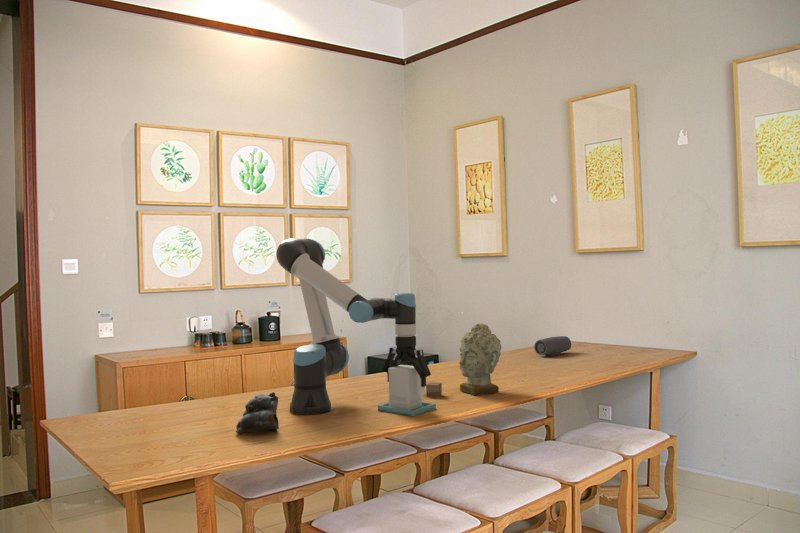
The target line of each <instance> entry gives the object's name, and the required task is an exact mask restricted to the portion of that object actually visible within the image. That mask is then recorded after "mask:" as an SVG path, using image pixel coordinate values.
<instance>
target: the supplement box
mask: <svg viewBox="0 0 800 533" xmlns="http://www.w3.org/2000/svg"><path fill="white" fill-rule="evenodd" d="M388 372H389V382H388V402H389V407H395V408H401V409H407V410H413V409H416V408H419V407H422V402H423V401H422V400H423V399H422V397H423V396H419V386H418V378H419V377H420V376H419V374H418V373H417V371H416V370H415V368H414V366H413V365H408V364H398V366H395V367H391V368H388Z"/></svg>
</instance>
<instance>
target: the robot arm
mask: <svg viewBox="0 0 800 533" xmlns="http://www.w3.org/2000/svg"><path fill="white" fill-rule="evenodd" d="M275 256H276V260H277V263H278V264H279V265H280V266H281V267H282V269H284V270H285V271H286V272H287V273H289V274H291V276H294V277H295V278H297V279H298V280H299V283H300V284H299V285H300V289H301V293H302V297H303V302H304V306H305V310H306V315H307V319H308V322H309V323H308V324H309V328H310V332H311V337H312V340H311V342H310V343H309V344H307V345H301V346H299V347H297V348H295V350H294V352H293V358H292V362H293V388H294V389H293V393H292V397H291V402H290V403H289V412H290V413H292V414H296V415H317V414H324V413H327V412H330V411H331V410H332V402H331V400H330V397H329V394H328V391H327V377H330V376H334V375H337V374H339V373H340V372H343V371H344V370H345V368H347V366H348V363H349V360H350V355H349V354H350V353H349V350H348V348H347V347H346V346H345V345H344V344H343V343H341V338H340V336H339V335H337V334H336V332H335V331H334V330H335V329H334V327H333V326H334V325H333V321H332V319H331V314H330V313H331V312H330V309H329V304H328V301H327V298H328V299H329V300H331V301H332V302H334V303H335V304H336V305H337V306H339V307H340V308H342V309H344V310H345V311H346V312H348V315H349V317H350V319H351V321H353V322H354V323H357V324H358V323H360V324H361V323H367V322H370V321H377V320H382V319H387V320H388V319H389V320H392V319H393V320H394V321H395V322H394V324H395V328H394V330H395V332H394V334H395V335H396V336H395V346H393V347H392V346H391V347H389V349H388V355H387V357H386V361H385V363H384V365H383V368H382V372H385V373H386V374H387V375H386V376H387V383H389V372H388V368H391V367H395V366H398V365H400V363H401V362H404V361H405V362H409V363H410V364H411V366H414V368H415V370H416V371H417V373H418V374H419V376H420V377H419V378H418V386H419V396H422V397H423V396H426V384H427V377H430V376H431V375H432V374H431V370H430V368H429V366H428V363H427V361H426V358H425V356H424V355H425V354H424V350H423V348H422V349H416V346H417V336H416V334H417V324H416V321H417V320H416V311H417V310H416V308H417V304H416V295H415V293H413V292H412V293H411V292H397V293H395V294H394V297H393V298H388V297H387V298H385V297H372V298H371V297H370V298H365V297H364V296H362V295H361V294H360V293H359V292H357V291H355V289H353V288H351V287H350V286H348V285H347V284H346V283H344V282H343V281H342V280H340V279H338V278H337V277H336V276H335V275H333V274H332V273H331V272H329V271H327V270H326V269H325V268H324V266H323V264H324V261H325V260H326V251H325V249H324V247H323V245H322V244H321V243H320V242H318V240H314V239H311V238H287V239H285V240H282V242H280V244H278V246H277V249H276V252H275Z"/></svg>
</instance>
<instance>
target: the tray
mask: <svg viewBox="0 0 800 533" xmlns="http://www.w3.org/2000/svg"><path fill="white" fill-rule="evenodd" d="M436 407H437V404H436V403H432V402H427V401H426V402H425V401H422V407H419V408H416V409H413V410H407V409H401V408H395V407H389V401H388V402H385V403H381V404H378V405H377V411H380V412H384V411H385V412H386V413H390V414H391V413H392V414H396V415H402V416H407V417H408V416H409V417H415V416H418V415H421V414H424V413H427V412H429V411H433V410H436V409H437V408H436Z"/></svg>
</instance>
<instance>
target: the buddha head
mask: <svg viewBox="0 0 800 533" xmlns="http://www.w3.org/2000/svg"><path fill="white" fill-rule="evenodd" d="M501 350H502V344H501V340H500V338H498V337H497V335H496V334H494V333H492V330H491V329H490V327H489V326H488V325H487V324H484V323H477V324H475V325H473V327H471V328H470V331H469V332H466V333H465V334H464V336H462V337H461V339H460V347H459V351H460V353H459V356H460V358H459V369H460V371H461V375H462V376H463V377H464V378H467V380H466V381H465V382H462V383H461V384H460V385H459V391H460V392H462V393H464V394H465V393H466V394H469V395H471V396H475V397H478V395H479V396H483V395H489V394H491V395H492V394H497V393H500V391H499V390H500V386H499V385H497V384H494V383H492V380H491V374H493V372H494V371H495V367H497V365H498V363H499V361H500V357H501V355H502V354H501Z"/></svg>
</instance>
